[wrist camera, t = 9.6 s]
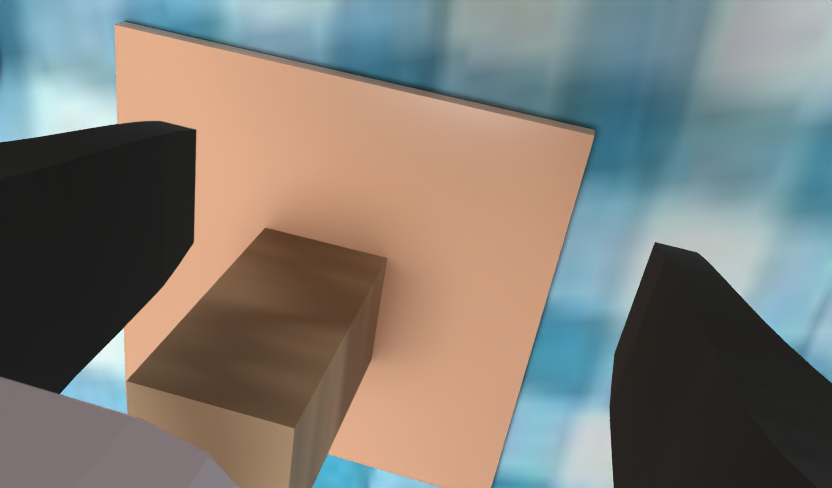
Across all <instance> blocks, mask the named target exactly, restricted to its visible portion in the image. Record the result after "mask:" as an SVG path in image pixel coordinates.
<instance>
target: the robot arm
mask: <svg viewBox="0 0 832 488" xmlns="http://www.w3.org/2000/svg"><path fill="white" fill-rule="evenodd" d="M196 131H197V130H196V129H192V128H188V127H183V126H179V125H175V124H171V123H167V122H163V121H140V122H130V123H122V124H115V125H108V126H102V127H96V128H90V129H84V130H78V131H72V132H66V133H60V134H54V135H48V136H42V137H36V138H29V139H22V140H15V141H8V142H1V143H0V488H240V487H239V486H238V485H237V483H236V482H235V481H234V480H233V479H232V478H231V477H230V476H229V475H228V473H227V472H226V471H225V470H224V469H223V468H222V467H221V466H220V465H219V463H218V462H217V461H216V460H215V459H214V458H213V457H212V456H211V455H210V453H208V452H207V451H205V450H203V449H201V448H199V447H197V446H195V445H193V444H191V443H189V442H187V441H185V440H183V439H181V438H179V437H177V436H175V435H173V434H171V433H169V432H167V431H165V430H164V429H162V428H160V427H158V426H156V425H154V424H152V423H150V422H148V421H146V420H144V419H142V418H138V417H135V416H131V415H128V414H125V413H121V412H118V411H114V410H111V409H108V408H104V407H101V406H98V405H94V404H91V403H87V402H84V401H81V400H77V399H74V398H70V397H67V396H64V395H60V393H61V392H62V391H63V390H64V389H65V388H66V386H67V385H68V384H69V383H70V382H71V381H72V380H73V379H74V378H75V376H76V375H77V374H78V373H79V372H80V371H81V370H82V369H83V368H84V367H85V366H86V365H87V364H88V363H89V362H90V361H91V360H92V359H93V358H94V357H95V356H96V355H97V354H98V353H99V352H100V351H101V350H102V349H103V348H104V347H105V346H106V345H107V344H108V343H109V342H110V341H111V340H112V339H113V338H114V337H115V336H116V335H117V334H118V333H119V332H120V331H121V330H122V329H123V328H124V327H125V326H126V325H127V324H128V323H129V322H130V321H131V320H132V319H133V318H134V317H135V316H136V315H137V314H138V313H139V311H140V310H141V309H142V308H143V307H144V306H145V305H146V304H147V303H148V302H149V301H150V300H151V299H152V298H153V297H154V296H155V295H156V294H157V293H158V292H159V290H160V289H161V288H162V287H163V286H164V285H165V283H166V282H167V281H168V279H169V278H170V277H171V275H172V274H173V273H174V271H175V270H176V268H177V267H178V266H179V264H180V263H181V261H182V260H183V258H184V257H185V255H186V254H187V252H188V251H189V249H190V248H191V246H192V245H193V243H194V221H195V176H196ZM610 429H611V448H612V465H613V482H614V488H832V383H831V382H830V381H829V380H827V379H826V378H825V377H824V376H823V375H821V374H820V373H819V372H818V371H817V370H816V369H814V368H813V367H812V366H811V365H810V364H809V363H808V362H807V361H806V360H805V359H803V358H802V357H801V356H800V355H799V354H798V353H797V352H796V351H795V350H794V349H792V348H791V347H790V346H789V345H788V344H787V343H786V342H785V341H784V340H783V339H782V338H781V337H780V336H779V335H778V334H777V333H776V332H775V331H774V330H773V329H772V328H771V327H770V326H769V325H768V324H767V323H766V322H765V321H764V320H763V319H762V318H761V317H760V316H759V315H758V314H757V313H756V312H755V311H754V310H753V309H752V308H751V307H750V306H749V305H748V304H747V303H746V302H745V300H744V299H743V298H742V297H741V296H740V295H739V294H738V293H737V292H736V291H735V290H734V289H733V288H732V287H731V285H730V284H729V283H728V282H727V281H726V280H725V279H724V278H723V277H722V276H721V275H720V274H719V273H718V272H717V271H716V270H715V268H714V267H713V266H712V265H711V264H710V263H709V262H708V261H707V260H705V259H704V258H703V257H702V256H701V255H700V254H698V253H697V252H693V251H689V250H685V249H681V248H677V247H672V246H668V245H664V244H660V243H656V242H655V243H654V246H653V249H652V252H651V254H650V257H649V260H648V263H647V265H646V268H645V271H644V274H643V277H642V279H641V282H640V285H639V288H638V290H637V293H636V296H635V299H634V301H633V304H632V307H631V310H630V312H629V315H628V318H627V321H626V324H625V326H624V329H623V332H622V335H621V337H620V340H619V343H618V346H617V348H616V351H615V355H614V365H613V374H612V384H611V397H610Z"/></svg>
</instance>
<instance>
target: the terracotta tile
mask: <svg viewBox="0 0 832 488" xmlns="http://www.w3.org/2000/svg"><path fill="white" fill-rule="evenodd" d="M115 56H116V88H117V120H118V124H122V123H130V122H140V121H163V122H167V123H171V124H175V125H179V126H183V127H188V128H192V129H196V130H197V131H196V176H195V221H194V243H193V245H192V246H191V248H190V249H189V251H188V252H187V254H186V255H185V257H184V258H183V260H182V261H181V263H180V264H179V266H178V267H177V268H176V270H175V271H174V273H173V274H172V275H171V277H170V278H169V279H168V281H167V282H166V283H165V285H164V286H163V287H162V288H161V289H160V290H159V292H158V293H157V294H156V295H155V296H154V297H153V298H152V299H151V300H150V301H149V302H148V303H147V304H146V305H145V306H144V307H143V308H142V309H141V310H140V311H139V313H138V314H137V315H136V316H135V317H134V318H133V319H132V320H131V321H130V322H129V323H128V324H127V325H126V326H125V327H124V343H125V375H126V381H127V380H128V379H129V377H130V376H131V375H132V374H133V373H134V372H135V371H136V370H137V369H138V367H139V366H140V365H141V364H142V363H143V362H144V361H145V360H146V359H147V358H148V356H149V355H150V354H151V353H152V352H153V351H154V350H155V349H156V348H157V347H158V345H159V344H160V343H161V342H162V341H163V340H164V339H165V338H166V337H167V335H168V334H169V333H170V332H171V331H172V330H173V329H174V328H175V327H176V326H177V324H178V323H179V322H180V321H181V320H182V319H183V318H184V317H185V316H186V314H187V313H188V312H189V311H190V310H191V309H192V308H193V307H194V306H195V305H196V303H197V302H198V301H199V300H200V299H201V298H202V297H203V296H204V295H205V294H206V292H207V291H208V290H209V289H210V288H211V287H212V286H213V285H214V284H215V282H216V281H217V280H218V279H219V278H220V277H221V276H222V275H223V274H224V273H225V271H226V270H227V269H228V268H229V267H230V266H231V265H232V264H233V263H234V261H235V260H236V259H237V258H238V257H239V256H240V255H241V254H242V253H243V252H244V250H245V249H246V248H247V247H248V246H249V245H250V244H251V243H252V242H253V241H254V239H255V238H256V237H257V236H258V235H259V234H260V233H261V232H262V231H263V229H264V228H269V229H273V230H277V231H281V232H285V233H289V234H293V235H297V236H301V237H305V238H309V239H313V240H317V241H321V242H325V243H329V244H333V245H337V246H341V247H345V248H349V249H353V250H357V251H361V252H365V253H370V254H374V255H378V256H382V257H386V258H387V262H386V269H385V275H384V281H383V288H382V294H381V301H380V307H379V314H378V320H377V327H376V333H375V340H374V346H373V353H372V359H371V362H370V364H369V366H368V368H367V371H366V373H365V375H364V377H363V379H362V381H361V383H360V386H359V388H358V390H357V392H356V394H355V396H354V398H353V401H352V403H351V405H350V407H349V409H348V411H347V413H346V416H345V418H344V420H343V422H342V424H341V426H340V429H339V431H338V433H337V435H336V437H335V439H334V441H333V444H332V446H331V448H330V450H329V452H328V454H329V455H333V456H336V457H340V458H343V459H346V460H350V461H353V462H357V463H360V464H363V465H367V466H370V467H374V468H377V469H381V470H384V471H387V472H391V473H394V474H398V475H401V476H405V477H408V478H411V479H415V480H418V481H422V482H425V483H428V484H432V485H435V486H439V487H442V488H491V486H492V483H493V479H494V476H495V473H496V469H497V466H498V462H499V459H500V456H501V452H502V449H503V445H504V442H505V439H506V435H507V432H508V428H509V425H510V422H511V418H512V415H513V411H514V408H515V405H516V401H517V398H518V394H519V391H520V388H521V384H522V381H523V378H524V374H525V371H526V367H527V364H528V361H529V357H530V354H531V350H532V347H533V344H534V340H535V337H536V333H537V330H538V327H539V323H540V320H541V316H542V313H543V310H544V306H545V303H546V299H547V296H548V293H549V289H550V286H551V282H552V279H553V276H554V272H555V269H556V265H557V262H558V259H559V255H560V252H561V248H562V245H563V242H564V238H565V235H566V231H567V228H568V225H569V221H570V218H571V214H572V211H573V208H574V204H575V201H576V197H577V194H578V191H579V187H580V184H581V180H582V177H583V174H584V170H585V167H586V163H587V160H588V157H589V153H590V150H591V147H592V143H593V140H594V136H595V130H593V129H589V128H585V127H580V126H576V125H572V124H567V123H563V122H559V121H554V120H550V119H546V118H541V117H537V116H533V115H528V114H524V113H520V112H515V111H511V110H507V109H502V108H498V107H494V106H489V105H485V104H481V103H476V102H472V101H468V100H463V99H459V98H455V97H450V96H446V95H442V94H437V93H433V92H428V91H424V90H420V89H415V88H411V87H407V86H402V85H398V84H394V83H389V82H385V81H381V80H376V79H372V78H368V77H363V76H359V75H355V74H350V73H346V72H342V71H337V70H333V69H329V68H324V67H320V66H316V65H311V64H307V63H303V62H298V61H294V60H290V59H285V58H281V57H277V56H272V55H268V54H263V53H259V52H255V51H250V50H246V49H242V48H237V47H233V46H229V45H224V44H220V43H216V42H211V41H207V40H203V39H198V38H194V37H190V36H185V35H181V34H177V33H172V32H168V31H164V30H159V29H155V28H151V27H146V26H142V25H138V24H133V23H129V22H125V21H124V22H121V23H118V24H115ZM126 395H127V388H126Z"/></svg>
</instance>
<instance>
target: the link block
mask: <svg viewBox="0 0 832 488" xmlns="http://www.w3.org/2000/svg"><path fill="white" fill-rule="evenodd" d="M386 262H387V258H386V257H382V256H378V255H374V254H370V253H365V252H361V251H357V250H353V249H349V248H345V247H341V246H337V245H333V244H329V243H325V242H321V241H317V240H313V239H309V238H305V237H301V236H297V235H293V234H289V233H285V232H281V231H277V230H273V229H269V228H264V229H263V231H262V232H261V233H260V234H259V235H258V236H257V237H256V238H255V239H254V241H253V242H252V243H251V244H250V245H249V246H248V247H247V248H246V249H245V250H244V252H243V253H242V254H241V255H240V256H239V257H238V258H237V259H236V260H235V261H234V263H233V264H232V265H231V266H230V267H229V268H228V269H227V270H226V271H225V273H224V274H223V275H222V276H221V277H220V278H219V279H218V280H217V281H216V282H215V284H214V285H213V286H212V287H211V288H210V289H209V290H208V291H207V292H206V294H205V295H204V296H203V297H202V298H201V299H200V300H199V301H198V302H197V303H196V305H195V306H194V307H193V308H192V309H191V310H190V311H189V312H188V313H187V314H186V316H185V317H184V318H183V319H182V320H181V321H180V322H179V323H178V324H177V326H176V327H175V328H174V329H173V330H172V331H171V332H170V333H169V334H168V335H167V337H166V338H165V339H164V340H163V341H162V342H161V343H160V344H159V345H158V347H157V348H156V349H155V350H154V351H153V352H152V353H151V354H150V355H149V356H148V358H147V359H146V360H145V361H144V362H143V363H142V364H141V365H140V366H139V367H138V369H137V370H136V371H135V372H134V373H133V374H132V375H131V376H130V377H129V379H128V380H127V381H126V388H127V411H128V415H131V416H135V417H138V418H142V419H144V420H146V421H148V422H150V423H152V424H154V425H156V426H158V427H160V428H162V429H164V430H165V431H167V432H169V433H171V434H173V435H175V436H177V437H179V438H181V439H183V440H185V441H187V442H189V443H191V444H193V445H195V446H197V447H199V448H201V449H203V450H205V451H207V452H208V453H210V455H211V456H212V457H213V458H214V459H215V460H216V461H217V462H218V463H219V465H220V466H221V467H222V468H223V469H224V470H225V471H226V472H227V473H228V475H229V476H230V477H231V478H232V479H233V480H234V481H235V482H236V483H237V485H238V486H239V487H240V488H312V486H313V484H314V482H315V480H316V478H317V476H318V474H319V471H320V469H321V467H322V465H323V463H324V461H325V459H326V456H327V454H328V452H329V450H330V448H331V446H332V444H333V441H334V439H335V437H336V435H337V433H338V431H339V429H340V426H341V424H342V422H343V420H344V418H345V416H346V413H347V411H348V409H349V407H350V405H351V403H352V401H353V398H354V396H355V394H356V392H357V390H358V388H359V386H360V383H361V381H362V379H363V377H364V375H365V373H366V371H367V368H368V366H369V364H370V362H371V359H372V353H373V346H374V340H375V333H376V327H377V320H378V314H379V307H380V301H381V294H382V288H383V281H384V275H385V269H386Z"/></svg>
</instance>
